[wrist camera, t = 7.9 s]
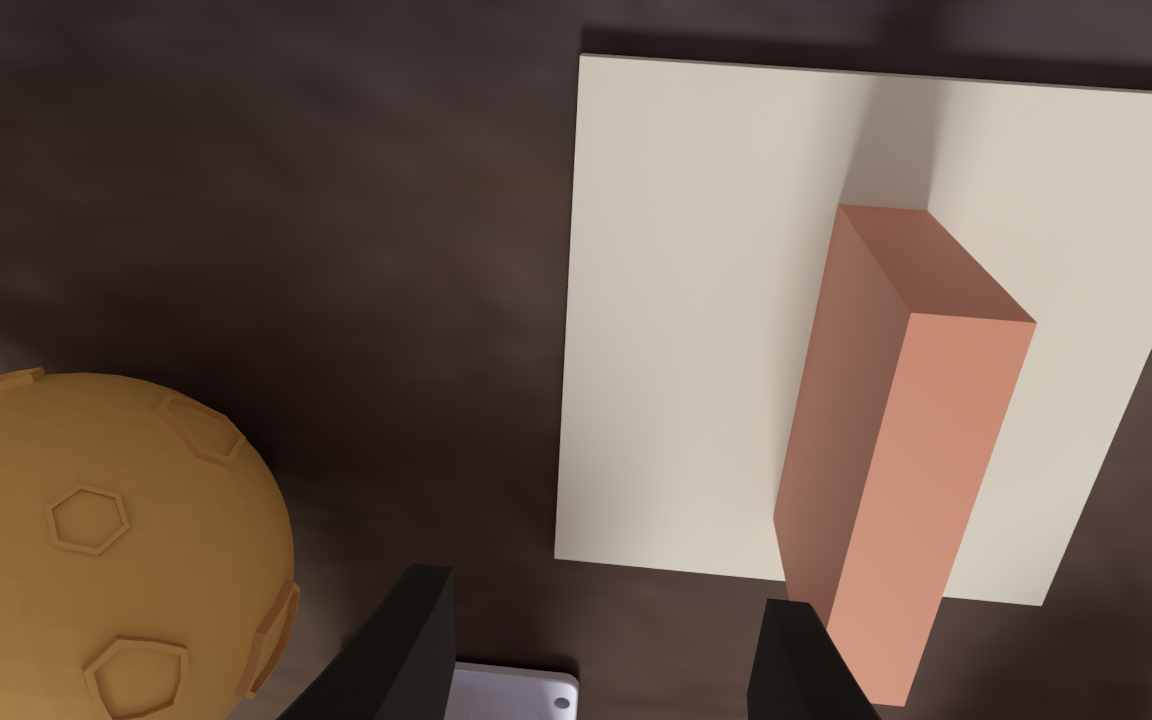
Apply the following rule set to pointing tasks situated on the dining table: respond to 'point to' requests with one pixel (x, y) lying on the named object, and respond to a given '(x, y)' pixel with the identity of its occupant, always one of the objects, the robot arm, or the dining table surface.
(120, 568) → the stress ball
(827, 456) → the slab
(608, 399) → the mat
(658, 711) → the dining table surface
